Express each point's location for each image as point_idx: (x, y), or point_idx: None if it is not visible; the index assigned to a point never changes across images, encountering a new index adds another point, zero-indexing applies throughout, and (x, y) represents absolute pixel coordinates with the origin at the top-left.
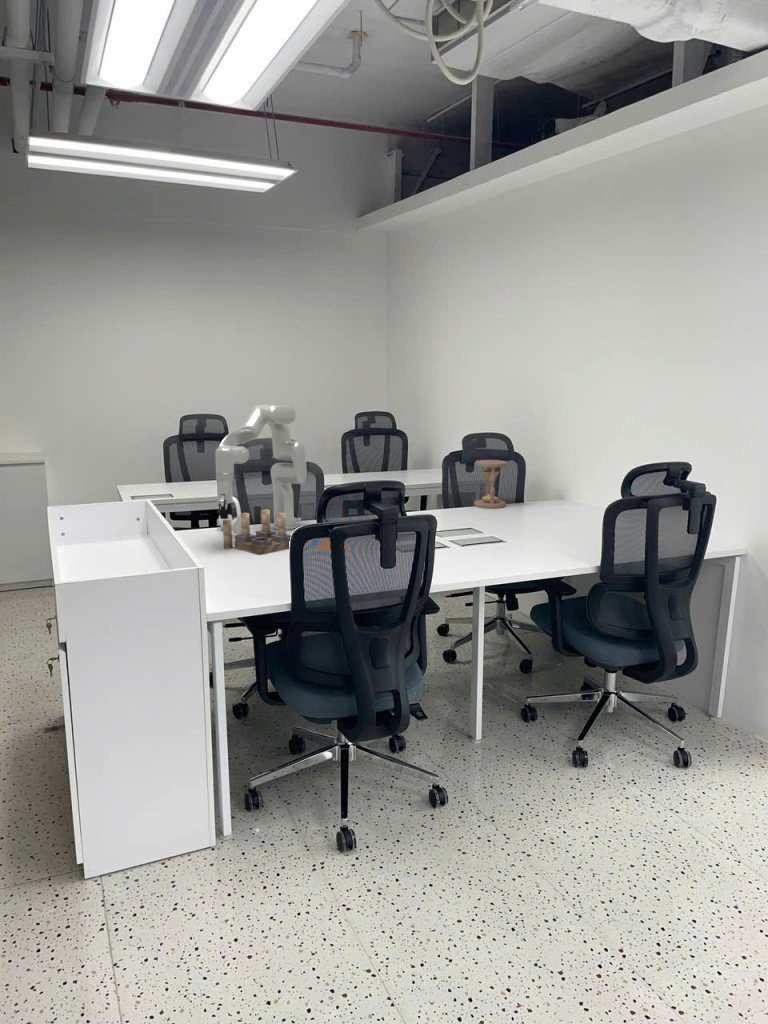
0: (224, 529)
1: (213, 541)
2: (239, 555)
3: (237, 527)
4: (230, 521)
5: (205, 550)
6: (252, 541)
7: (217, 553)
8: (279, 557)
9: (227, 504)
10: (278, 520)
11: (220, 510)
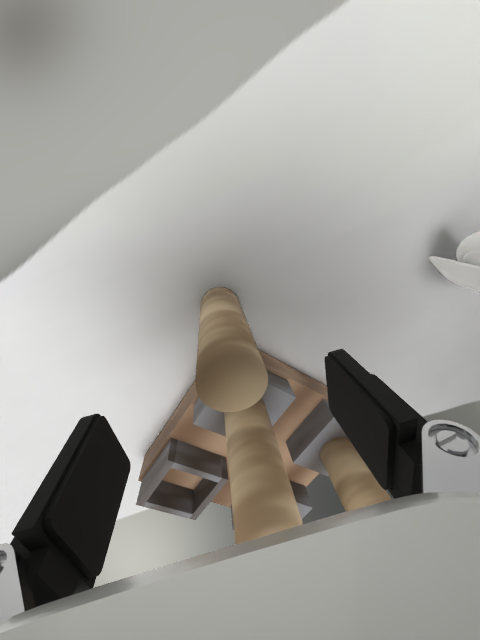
0: (198, 341)
1: (340, 172)
2: (110, 400)
3: (474, 272)
4: (223, 409)
5: (139, 216)
6: (162, 462)
7: (104, 303)
8: (135, 509)
9: (410, 478)
10: None
11: (29, 518)
